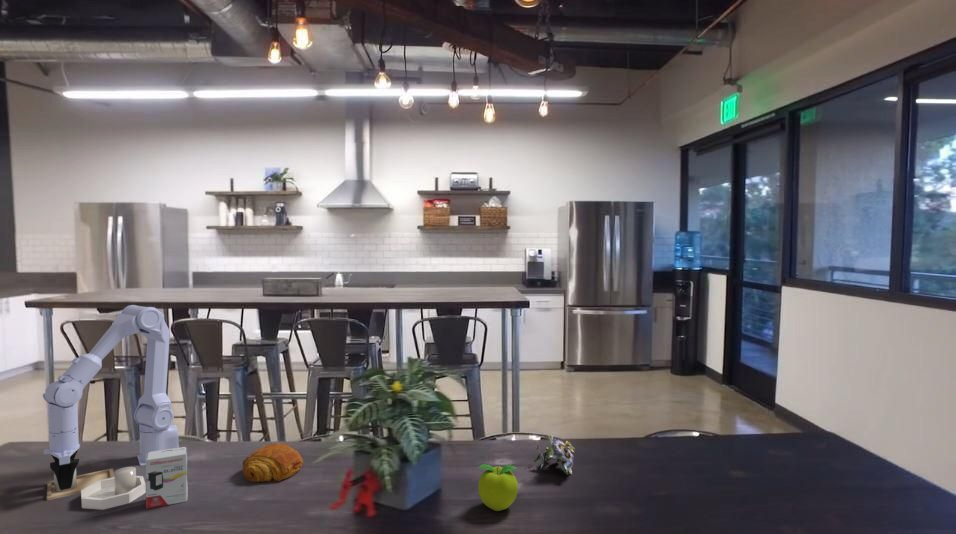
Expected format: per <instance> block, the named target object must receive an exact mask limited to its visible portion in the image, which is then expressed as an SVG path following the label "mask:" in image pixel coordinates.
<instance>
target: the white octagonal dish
mask: <svg viewBox="0 0 956 534" xmlns="http://www.w3.org/2000/svg"><path fill="white" fill-rule="evenodd" d="M144 494H146V480H145V478H144V476H143V475H136V488H134V489H132V490H131V491H129V492H127V493H124V494H120V495H115V478H114V477H113V478H108V479H104V480H99V481H97V482H95V483H93V484H92V485H90V486H88V487H86V488H84V489H82V490H81V493H80V497H81V498H80V501H81V509H88V510H102V511H103V510H107V509H111V508H114V507H118V506H123V505H126V504H129V503H131V502H134V501H135V500H136V499H138V498H140V497H142V496H143V495H144Z"/></svg>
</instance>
